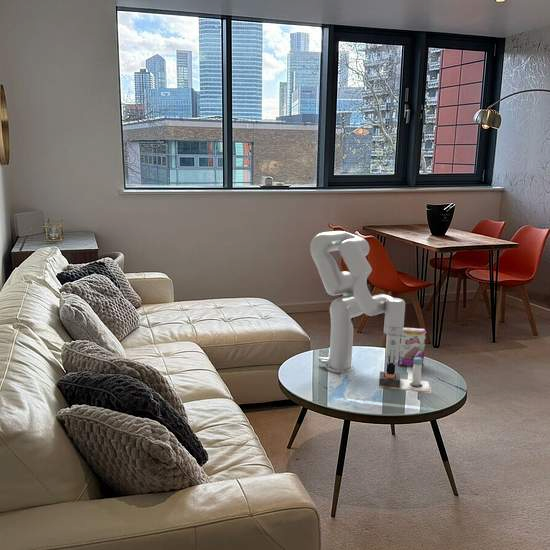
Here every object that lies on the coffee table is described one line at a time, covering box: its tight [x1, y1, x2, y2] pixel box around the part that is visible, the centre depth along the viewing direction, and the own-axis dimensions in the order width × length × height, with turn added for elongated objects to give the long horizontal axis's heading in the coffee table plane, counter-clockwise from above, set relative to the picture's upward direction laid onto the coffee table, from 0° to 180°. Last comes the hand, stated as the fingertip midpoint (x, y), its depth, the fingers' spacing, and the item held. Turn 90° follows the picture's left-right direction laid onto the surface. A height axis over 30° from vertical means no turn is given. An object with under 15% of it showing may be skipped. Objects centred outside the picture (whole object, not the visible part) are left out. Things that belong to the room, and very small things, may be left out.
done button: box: [384, 371, 395, 378], centre depth 233 cm, size 4×4×4 cm
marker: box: [411, 357, 424, 386], centre depth 231 cm, size 3×3×11 cm
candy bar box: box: [396, 327, 427, 368], centre depth 257 cm, size 11×5×16 cm, turn 84°
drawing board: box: [378, 371, 432, 394], centre depth 232 cm, size 20×12×4 cm, turn 79°
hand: (390, 373), depth 233 cm, fingers closed
